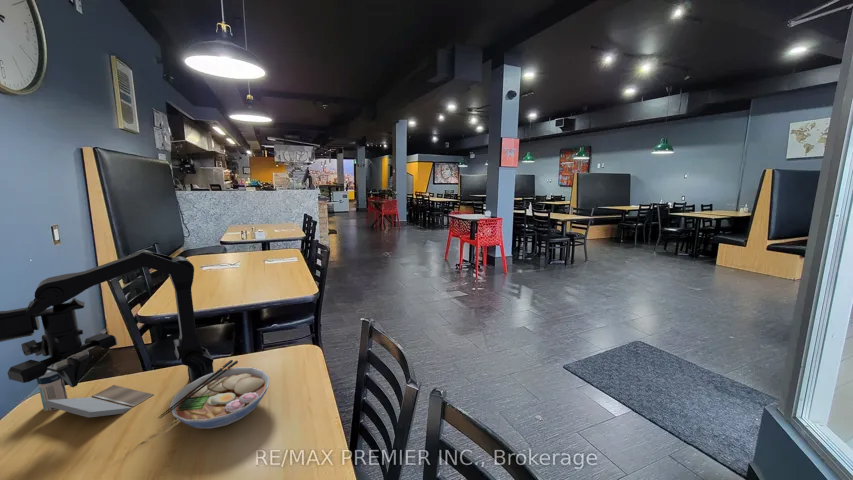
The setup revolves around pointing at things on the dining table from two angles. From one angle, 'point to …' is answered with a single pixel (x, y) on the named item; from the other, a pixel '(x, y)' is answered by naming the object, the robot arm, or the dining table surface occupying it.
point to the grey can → (51, 388)
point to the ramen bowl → (220, 397)
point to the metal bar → (123, 395)
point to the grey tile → (87, 406)
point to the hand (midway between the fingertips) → (73, 386)
